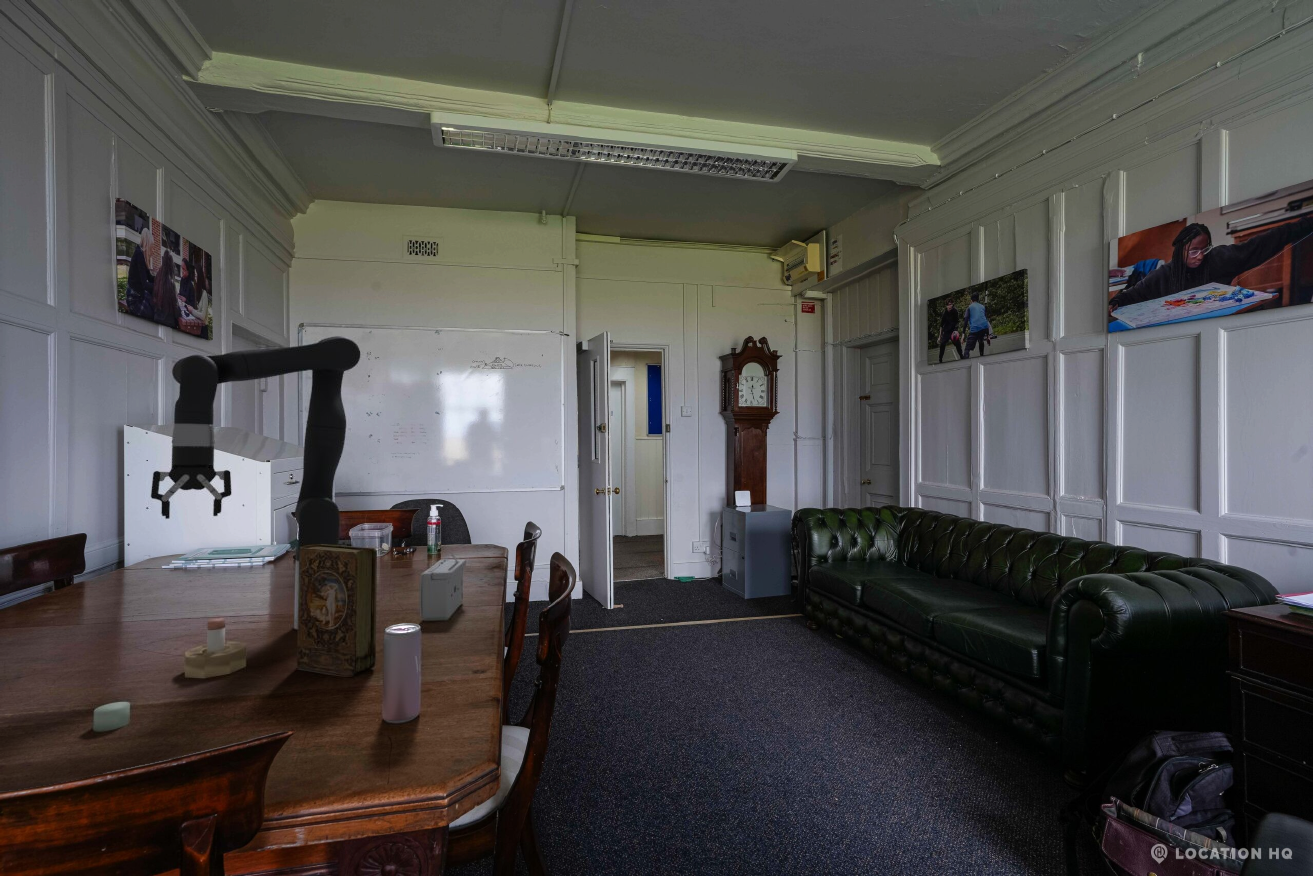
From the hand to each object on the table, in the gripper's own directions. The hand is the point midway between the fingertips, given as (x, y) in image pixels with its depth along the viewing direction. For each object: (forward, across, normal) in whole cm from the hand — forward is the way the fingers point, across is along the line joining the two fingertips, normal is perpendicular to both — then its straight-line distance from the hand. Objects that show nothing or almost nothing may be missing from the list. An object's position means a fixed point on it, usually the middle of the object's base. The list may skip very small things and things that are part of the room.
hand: (191, 517), depth 136 cm
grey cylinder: (+30, -4, +16) cm, 34 cm away
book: (+30, -23, +31) cm, 49 cm away
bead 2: (+30, -4, +16) cm, 34 cm away
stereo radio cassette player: (+30, -57, +1) cm, 64 cm away
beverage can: (+30, -27, +63) cm, 75 cm away
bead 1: (+30, +11, +37) cm, 49 cm away
